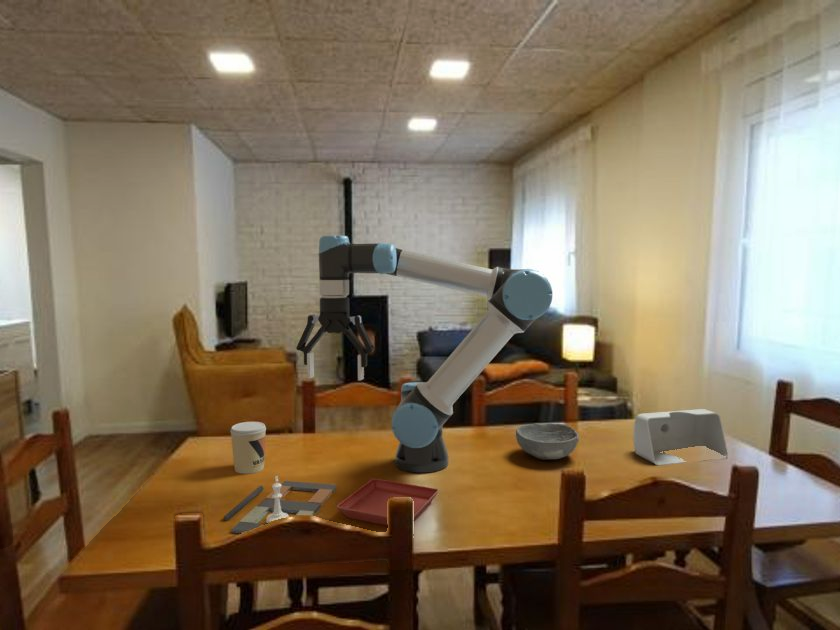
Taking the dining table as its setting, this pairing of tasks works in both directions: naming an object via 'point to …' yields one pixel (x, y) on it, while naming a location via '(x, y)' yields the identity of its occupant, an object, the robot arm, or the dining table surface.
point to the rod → (243, 503)
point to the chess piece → (276, 503)
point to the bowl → (547, 440)
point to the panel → (287, 503)
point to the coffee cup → (248, 446)
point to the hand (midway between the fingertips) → (335, 378)
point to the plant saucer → (383, 499)
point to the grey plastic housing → (677, 434)
